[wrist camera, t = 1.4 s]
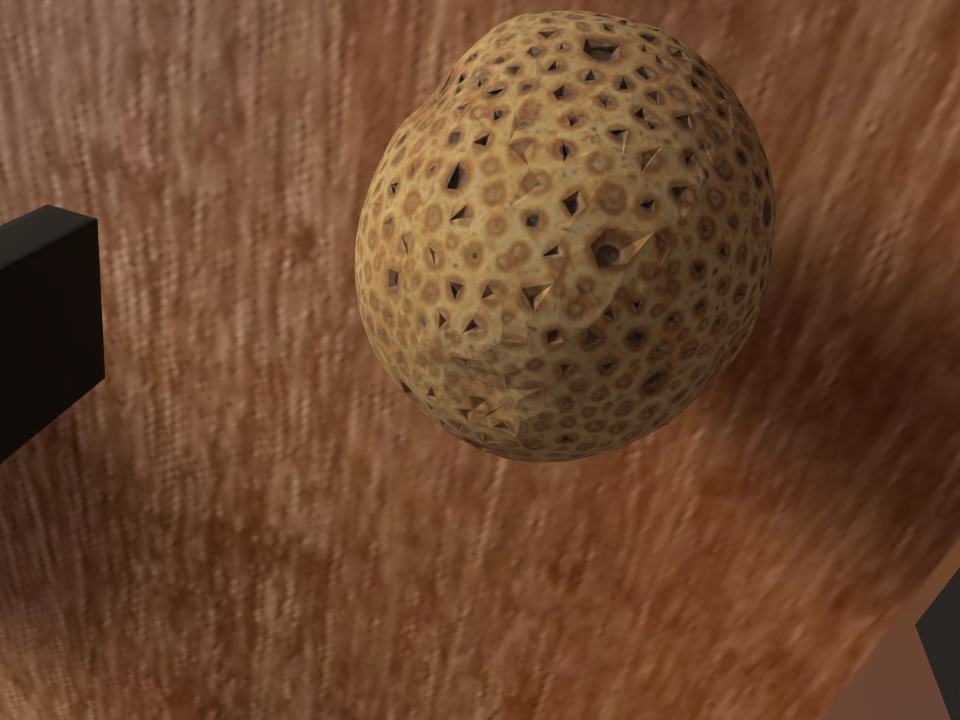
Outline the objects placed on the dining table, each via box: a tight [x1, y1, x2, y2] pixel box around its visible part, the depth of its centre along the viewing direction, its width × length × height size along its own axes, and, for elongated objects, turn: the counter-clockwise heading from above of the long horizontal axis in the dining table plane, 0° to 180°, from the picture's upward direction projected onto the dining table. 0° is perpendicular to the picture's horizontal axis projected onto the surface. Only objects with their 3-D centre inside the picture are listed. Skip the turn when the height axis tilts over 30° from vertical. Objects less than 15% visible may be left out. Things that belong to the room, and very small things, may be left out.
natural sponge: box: [355, 11, 775, 462], centre depth 17 cm, size 9×9×10 cm
